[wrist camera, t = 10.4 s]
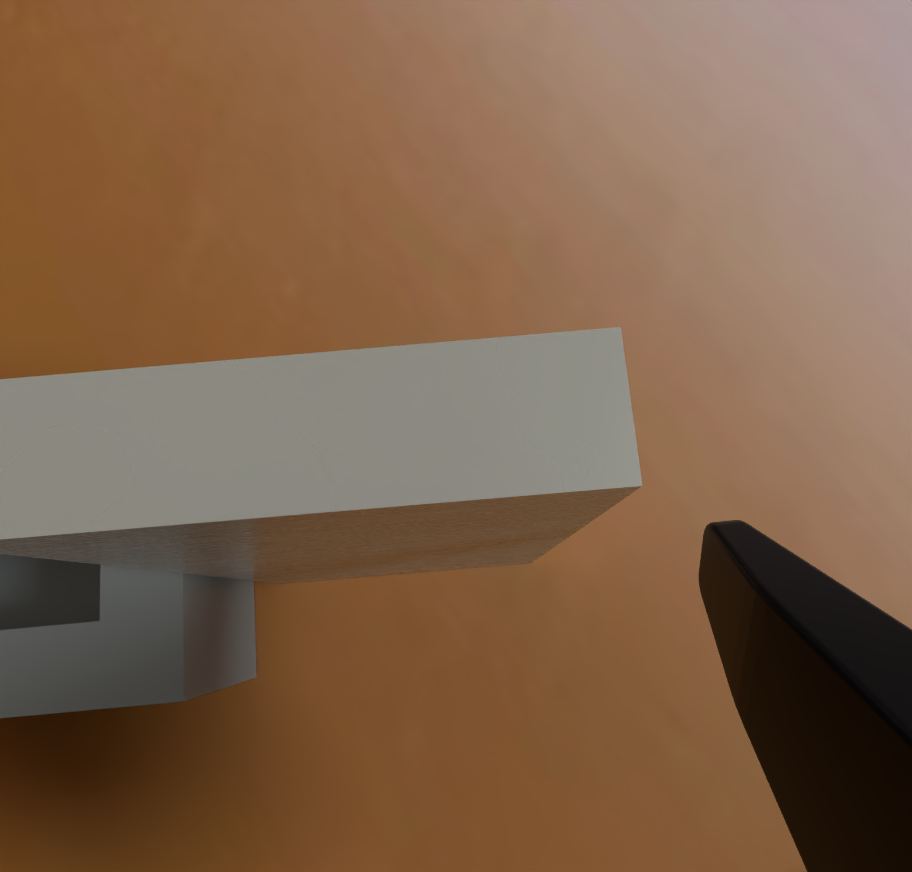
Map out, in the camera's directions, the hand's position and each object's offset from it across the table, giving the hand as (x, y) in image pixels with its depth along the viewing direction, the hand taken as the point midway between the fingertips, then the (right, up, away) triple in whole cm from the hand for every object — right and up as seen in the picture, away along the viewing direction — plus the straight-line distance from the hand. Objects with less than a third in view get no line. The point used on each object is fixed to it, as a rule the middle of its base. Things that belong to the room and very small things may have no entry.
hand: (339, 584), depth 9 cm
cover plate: (0, -1, +9) cm, 9 cm away
